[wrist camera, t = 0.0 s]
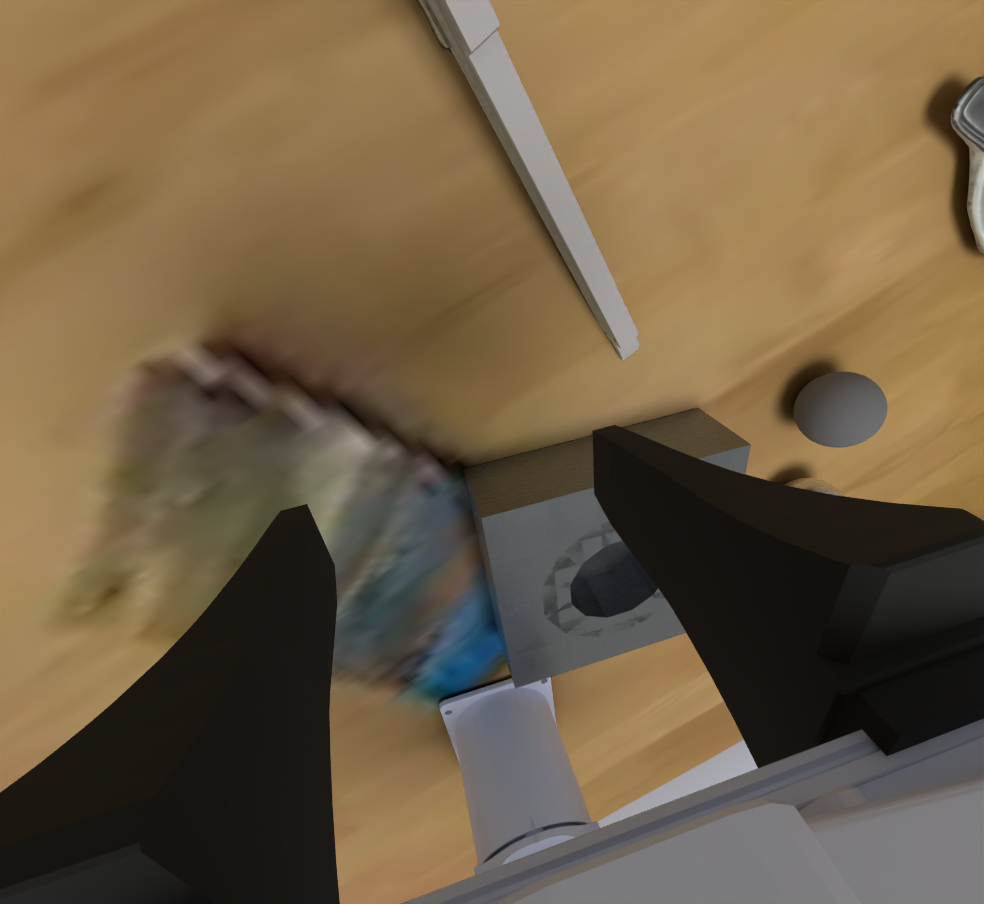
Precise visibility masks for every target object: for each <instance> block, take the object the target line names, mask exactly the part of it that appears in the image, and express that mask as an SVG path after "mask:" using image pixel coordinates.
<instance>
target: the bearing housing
mask: <svg viewBox="0 0 984 904" xmlns="http://www.w3.org/2000/svg"><path fill="white" fill-rule="evenodd" d="M624 429H627V430H629V431H632V432H634V433H637V434H639V435H641V436H644V437H646V438H649V439H651V440H653V441H656V442H658V443H660V444H663V445H665V446H667V447H670V448H672V449H675V450H677V451H680V452H682V453H685V454H687V455H690V456H692V457H695V458H698V459H700V460H703V461H706V462H709V463H711V464H714V465H717V466H720V467H723V468H726V469H729V470H732V471H735V472H738V473H742V474H745V472H746V467H747V462H748V457H749V451H750V446H751V444H749V443H748V442H746V441H745V440H744V439H742V438H741V437H739V436H738V435H736V434H735V433H734V432H732V431H731V430H729V429H728V428H726V427H725V426H724V425H722V424H721V423H719V422H718V421H716V420H715V419H713V418H712V417H711V416H709V415H708V414H706V413H705V412H703V411H702V410H701V409H699V408H697V409H693V410H689V411H686V412H682V413H678V414H674V415H670V416H666V417H662V418H658V419H655V420H651V421H647V422H643V423H639V424H635V425H631V426H627V427H624ZM463 470H464V474H465V479H466V484H467V489H468V494H469V498H470V503H471V508H472V513H473V517H474V522H475V527H476V532H477V537H478V541H479V546H480V551H481V556H482V561H483V565H484V570H485V575H486V580H487V584H488V589H489V594H490V599H491V604H492V608H493V613H494V618H495V623H496V628H497V632H498V635H499V639H500V642H501V645H502V648H503V652H504V655H505V658H506V661H507V664H508V668H509V671H510V674H511V677H512V681H513V684H514V687H515V689H516V688H519V687H522V686H525V685H528V684H531V683H534V682H537V681H540V680H543V679H546V678H549V677H552V676H555V675H558V674H562V673H565V672H568V671H571V670H574V669H577V668H580V667H583V666H586V665H589V664H592V663H595V662H598V661H601V660H604V659H607V658H610V657H613V656H617V655H620V654H623V653H626V652H629V651H632V650H635V649H638V648H641V647H644V646H647V645H650V644H653V643H656V642H659V641H662V640H665V639H668V638H672V637H675V636H678V635H681V634H684V633H686V631H685V630H684V628H683V626H682V625H681V623H680V621H679V620H678V618H677V616H676V614H675V613H674V611H673V609H672V608H671V606H670V605H669V603H668V602H667V600H666V599H665V597H664V596H663V594H662V593H661V591H660V590H659V589H658V587H657V586H656V585H655V583H654V582H653V581H652V579H651V578H650V577H649V575H648V574H647V573H646V571H645V570H644V569H643V567H642V566H641V565H640V563H639V562H638V561H637V559H636V558H635V557H634V555H633V554H632V553H631V551H630V550H629V549H628V547H627V546H626V545H625V543H624V542H623V541H622V539H621V538H620V536H619V535H618V534H617V532H616V531H615V530H614V528H613V527H612V525H611V524H610V522H609V520H608V519H607V517H606V515H605V513H604V512H603V510H602V508H601V506H600V504H599V502H598V500H597V498H596V496H595V495H594V468H593V436H589V437H585V438H581V439H577V440H573V441H569V442H566V443H562V444H558V445H554V446H550V447H546V448H542V449H538V450H535V451H531V452H527V453H523V454H519V455H515V456H511V457H507V458H504V459H500V460H496V461H492V462H488V463H484V464H480V465H476V466H473V467H469V468H465V469H463Z"/></svg>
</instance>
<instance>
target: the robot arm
mask: <svg viewBox="0 0 984 904" xmlns="http://www.w3.org/2000/svg"><path fill="white" fill-rule="evenodd" d="M593 468H594V495H595V496H596V498H597V500H598V502H599V504H600V506H601V508H602V510H603V512H604V513H605V515H606V517H607V519H608V520H609V522H610V524H611V525H612V527H613V528H614V530H615V531H616V532H617V534H618V535H619V536H620V538H621V539H622V541H623V542H624V543H625V545H626V546H627V547H628V549H629V550H630V551H631V553H632V554H633V555H634V557H635V558H636V559H637V561H638V562H639V563H640V565H641V566H642V567H643V569H644V570H645V571H646V573H647V574H648V575H649V577H650V578H651V579H652V581H653V582H654V583H655V585H656V586H657V587H658V589H659V590H660V591H661V593H662V594H663V596H664V597H665V599H666V600H667V602H668V603H669V605H670V606H671V608H672V609H673V611H674V613H675V614H676V616H677V618H678V620H679V621H680V623H681V625H682V626H683V628H684V630H685V631H686V633H687V635H688V636H689V638H690V640H691V641H692V643H693V645H694V647H695V649H696V650H697V652H698V654H699V656H700V657H701V659H702V661H703V663H704V664H705V666H706V668H707V670H708V672H709V673H710V675H711V677H712V679H713V681H714V683H715V685H716V686H717V688H718V690H719V692H720V694H721V696H722V698H723V700H724V701H725V703H726V705H727V707H728V709H729V711H730V713H731V715H732V717H733V718H734V720H735V722H736V724H737V726H738V728H739V730H740V733H741V735H742V737H743V739H744V741H745V742H746V744H747V747H748V749H749V751H750V753H751V755H752V757H753V759H754V761H755V763H756V765H757V767H758V769H755V770H753V771H750V772H748V773H745V774H742V775H740V776H737V777H734V778H732V779H729V780H726V781H724V782H721V783H718V784H716V785H713V786H710V787H708V788H705V789H703V790H700V791H697V792H695V793H692V794H689V795H687V796H684V797H681V798H679V799H676V800H673V801H671V802H668V803H665V804H663V805H660V806H658V807H655V808H653V809H650V810H647V811H644V812H642V813H639V814H636V815H634V816H631V817H628V818H626V819H623V820H621V821H618V822H615V823H613V824H610V825H607V826H605V827H602V828H600V827H599V824H598V822H597V821H595V822H592V821H591V818H590V815H589V813H588V810H587V807H586V804H585V802H584V799H583V796H582V793H581V791H580V788H579V785H578V782H577V780H576V777H575V774H574V772H573V769H572V766H571V763H570V761H569V758H568V755H567V752H566V750H565V747H564V744H563V741H562V739H561V736H560V733H559V730H558V728H557V725H556V718H555V710H554V701H553V693H552V685H551V677H549V678H546V679H543V680H540V681H537V682H534V683H531V684H528V685H525V686H522V687H519V688H516V689H515V687H514V684H513V681H512V678H511V679H508V680H505V681H502V682H498V683H495V684H492V685H489V686H486V687H483V688H480V689H477V690H474V691H471V692H468V693H464V694H461V695H458V696H455V697H452V698H449V699H446V700H444V701H442V702H441V703H440V704H439V707H440V712H441V714H442V717H443V720H444V723H445V725H446V728H447V731H448V734H449V736H450V739H451V742H452V745H453V747H454V750H455V753H456V756H457V758H458V761H459V764H460V767H461V772H462V778H463V783H464V789H465V795H466V800H467V806H468V811H469V817H470V822H471V828H472V834H473V839H474V845H475V850H476V856H477V862H478V866H476V867H475V868H474V870H475V876H473V877H470V878H467V879H465V880H462V881H459V882H457V883H454V884H451V885H449V886H446V887H443V888H441V889H438V890H436V891H433V892H430V893H428V894H425V895H422V896H420V897H417V898H414V899H412V900H409V901H406V902H404V903H401V904H984V521H983V520H981V519H980V518H978V517H976V516H974V515H973V514H971V513H969V512H967V511H965V510H963V509H957V508H945V507H933V506H921V505H909V504H897V503H888V502H880V501H873V500H865V499H858V498H851V497H844V496H838V495H832V494H826V493H821V492H816V491H811V490H806V489H801V488H796V487H791V486H787V485H783V484H779V483H774V482H771V481H767V480H763V479H760V478H756V477H752V476H749V475H745V474H742V473H738V472H735V471H732V470H729V469H726V468H723V467H720V466H717V465H714V464H711V463H709V462H706V461H703V460H700V459H698V458H695V457H692V456H690V455H687V454H685V453H682V452H680V451H677V450H675V449H672V448H670V447H667V446H665V445H663V444H660V443H658V442H656V441H653V440H651V439H649V438H646V437H644V436H641V435H639V434H637V433H634V432H632V431H629V430H627V429H624V428H622V427H619V426H616V425H613V426H609V427H606V428H602V429H598V430H594V431H593ZM336 610H337V594H336V577H335V565H334V563H333V561H332V558H331V556H330V554H329V552H328V550H327V547H326V545H325V543H324V541H323V538H322V536H321V534H320V532H319V530H318V527H317V525H316V523H315V521H314V519H313V516H312V514H311V512H310V510H309V507H308V505H307V504H306V505H302V506H298V507H294V508H290V509H286V510H282V511H280V513H279V514H278V515H277V516H276V518H275V519H274V520H273V522H272V523H271V525H270V526H269V527H268V529H267V530H266V532H265V533H264V534H263V536H262V537H261V539H260V540H259V542H258V543H257V544H256V546H255V547H254V549H253V550H252V551H251V553H250V554H249V555H248V557H247V558H246V559H245V561H244V562H243V564H242V565H241V566H240V568H239V569H238V570H237V572H236V573H235V574H234V576H233V577H232V578H231V579H230V581H229V582H228V583H227V584H226V586H225V587H224V588H223V589H222V591H221V592H220V593H219V594H218V595H217V597H216V598H215V599H214V600H213V602H212V603H211V604H210V605H209V607H208V608H207V609H206V610H205V611H204V613H203V614H202V615H201V616H200V617H199V618H198V620H197V621H196V622H195V623H194V624H193V625H192V626H191V627H190V628H189V629H188V631H187V632H186V633H185V634H184V635H183V636H182V637H181V638H180V639H179V640H178V641H177V642H176V643H175V644H174V645H173V646H172V647H171V648H170V649H169V651H168V652H167V653H166V654H165V655H164V656H163V657H162V658H161V659H160V660H159V661H158V662H156V663H155V664H154V665H153V666H152V667H151V668H150V669H149V670H148V671H147V672H146V673H145V674H144V675H143V676H141V677H140V678H139V679H138V680H137V681H136V682H135V683H134V684H133V685H132V686H131V687H130V688H129V689H128V690H126V691H125V692H124V693H123V694H122V695H121V696H120V697H119V698H118V699H117V700H116V701H115V702H113V703H112V704H111V705H110V706H109V707H108V708H107V709H105V710H104V711H103V712H102V713H101V714H100V715H98V716H97V717H96V718H95V719H94V720H92V721H91V722H90V723H89V724H88V725H87V726H85V727H84V728H83V729H82V730H81V731H79V732H78V733H77V734H76V735H74V736H73V737H72V738H71V739H70V740H68V741H67V742H66V743H65V744H63V745H62V746H61V747H60V748H58V749H57V750H56V751H55V752H54V753H52V754H51V755H50V756H48V757H47V758H46V759H45V760H43V761H42V762H41V763H39V764H38V765H37V766H36V767H34V768H33V769H32V770H30V771H29V772H28V773H26V774H25V775H24V776H22V777H21V778H20V779H18V780H17V781H16V782H14V783H13V784H11V785H10V786H9V787H7V788H6V789H5V790H3V791H2V792H1V793H0V904H340V903H339V891H338V879H337V867H336V853H335V837H334V822H333V806H332V783H331V760H330V722H329V706H330V686H331V674H332V662H333V649H334V637H335V624H336Z"/></svg>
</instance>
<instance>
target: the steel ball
mask: <svg viewBox="0 0 984 904" xmlns="http://www.w3.org/2000/svg"><path fill="white" fill-rule="evenodd" d="M784 485H787V486H791V487H796V488H801V489H806V490H811V491H816V492H821V493H826V494H832V495H838V496H844V495H843V494H842V493H841V491H840V490H839V489H837V488H836V487H835V486H833V485H832V484H830V483H828V482H826V481H823V480H820V479H816V478H800V479H795V480H792V481H790V482H788V483H786V484H784ZM844 497H845V496H844Z"/></svg>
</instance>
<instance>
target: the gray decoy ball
mask: <svg viewBox="0 0 984 904" xmlns="http://www.w3.org/2000/svg"><path fill="white" fill-rule="evenodd" d="M886 414H887V401H886V398H885V395H884V393H883V391H882V390H881V388H880V387H879V386H878V385H877V384H876V383H875V382H874V381H872V380H871V379H869V378H867V377H865V376H863V375H860V374H857V373H852V372H833V373H829V374H825V375H822V376H820V377H818V378H816V379H814V380H812V381H811V382H810V383H808V384H807V385H806V386H805V387H804V388H803V389H802V390H801V392H800V393H799V395H798V396H797V399H796V401H795V404H794V418H795V422H796V424H797V426H798V428H799V430H800V431H801V432H802V433H803V434H804V435H805V436H806V437H807V438H809V439H810V440H811V441H813V442H815V443H818V444H820V445H823V446H828V447H848V446H853V445H856V444H859V443H861V442H864V441H865V440H867V439H869V438H870V437H872V436H873V435H874V434H875V433H876V432H877V431H878V430H879V429H880V427H881V426H882V424H883V422H884V420H885V418H886Z"/></svg>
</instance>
